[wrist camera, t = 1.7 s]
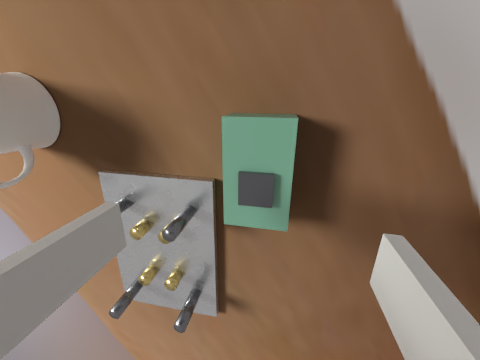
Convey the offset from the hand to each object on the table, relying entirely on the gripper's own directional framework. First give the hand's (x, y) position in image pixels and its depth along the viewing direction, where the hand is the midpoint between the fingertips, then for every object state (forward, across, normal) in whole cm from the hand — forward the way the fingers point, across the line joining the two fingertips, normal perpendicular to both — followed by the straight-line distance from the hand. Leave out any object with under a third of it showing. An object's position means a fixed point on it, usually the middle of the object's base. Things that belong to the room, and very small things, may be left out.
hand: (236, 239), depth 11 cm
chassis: (+13, -12, -12) cm, 21 cm away
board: (+13, 0, 0) cm, 13 cm away
